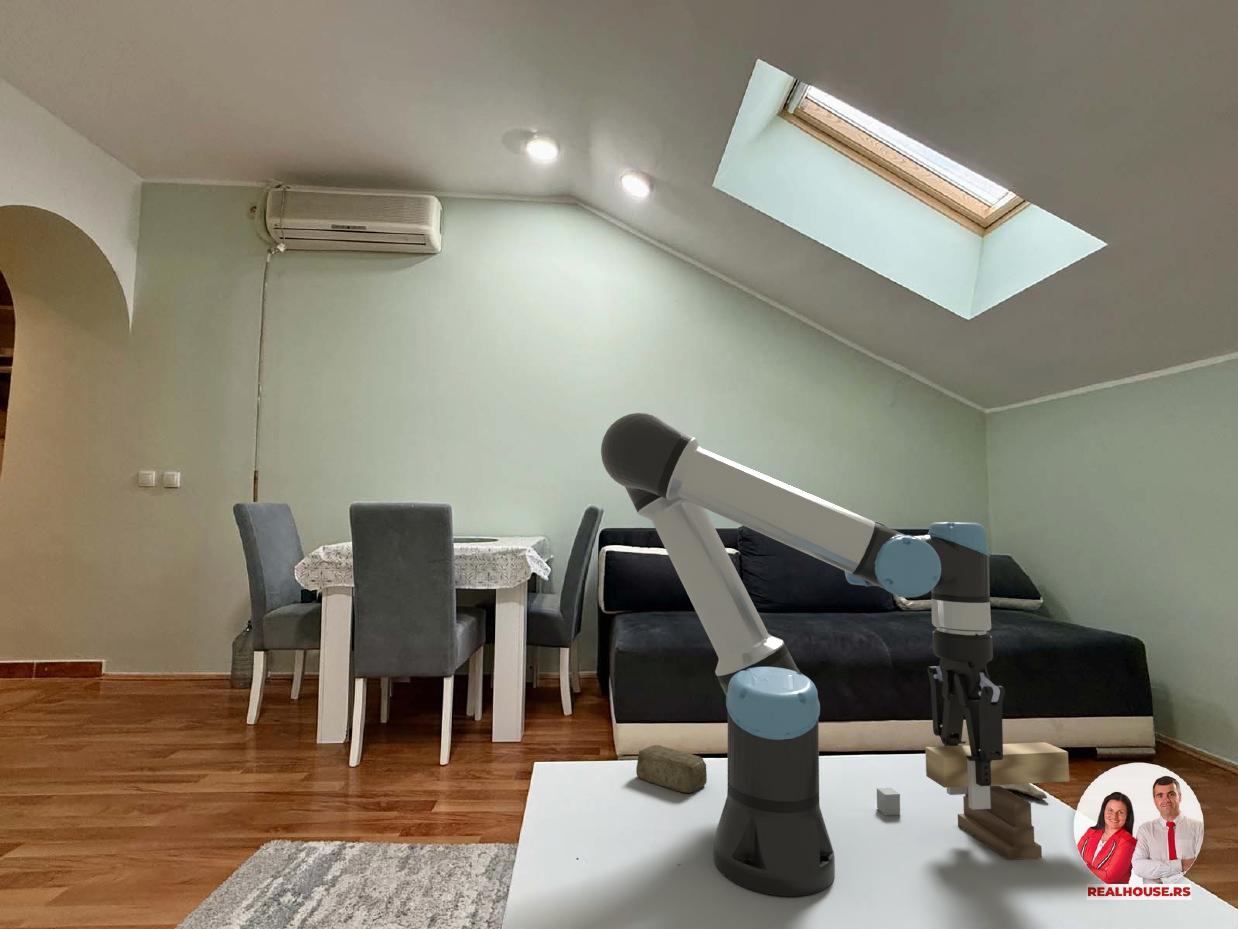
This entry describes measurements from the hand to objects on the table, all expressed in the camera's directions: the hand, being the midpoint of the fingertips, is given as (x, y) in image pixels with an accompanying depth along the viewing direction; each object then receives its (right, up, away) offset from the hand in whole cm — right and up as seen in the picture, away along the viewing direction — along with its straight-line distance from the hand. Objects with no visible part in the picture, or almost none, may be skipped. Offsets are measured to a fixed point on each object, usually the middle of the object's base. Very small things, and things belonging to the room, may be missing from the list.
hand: (968, 800), depth 89 cm
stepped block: (+4, -6, 0) cm, 7 cm away
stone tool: (+15, -9, +25) cm, 31 cm away
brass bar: (+5, +3, +1) cm, 5 cm away
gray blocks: (0, -6, +10) cm, 12 cm away
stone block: (-40, -7, +18) cm, 45 cm away
